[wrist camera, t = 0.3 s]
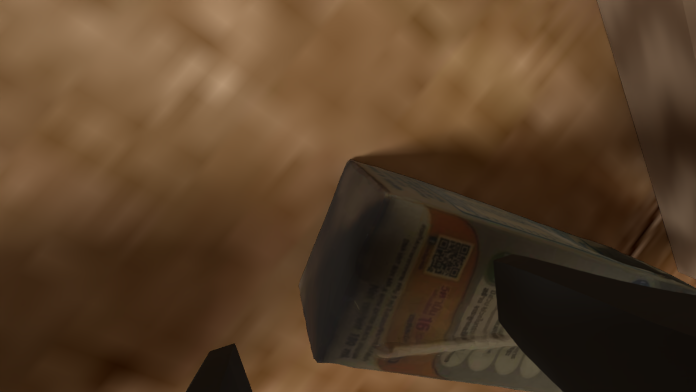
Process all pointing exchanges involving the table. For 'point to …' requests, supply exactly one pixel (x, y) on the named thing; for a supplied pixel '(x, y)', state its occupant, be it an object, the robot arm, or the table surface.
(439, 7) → the table surface
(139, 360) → the table surface
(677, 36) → the walnut board
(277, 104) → the table surface
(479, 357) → the beverage carton
